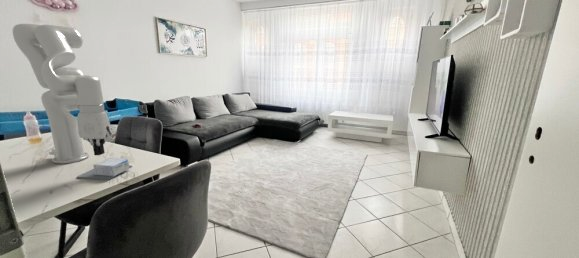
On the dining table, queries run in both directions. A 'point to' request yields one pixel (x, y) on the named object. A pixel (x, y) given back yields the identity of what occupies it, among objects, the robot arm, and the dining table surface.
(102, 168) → the medicine box
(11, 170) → the dining table surface
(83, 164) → the dining table surface
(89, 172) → the mat
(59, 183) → the dining table surface
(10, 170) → the dining table surface
